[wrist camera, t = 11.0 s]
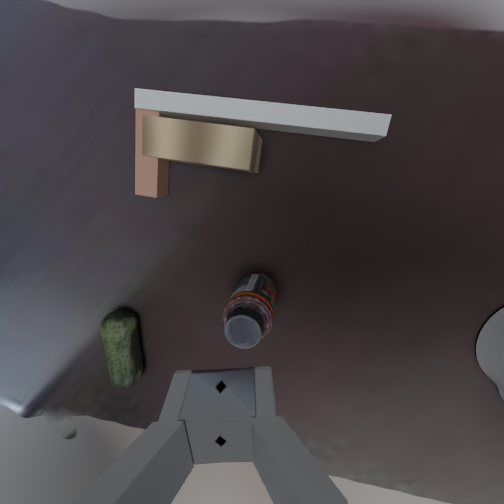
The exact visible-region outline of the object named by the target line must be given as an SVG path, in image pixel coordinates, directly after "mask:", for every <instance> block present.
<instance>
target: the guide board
mask: <svg viewBox="0 0 504 504" xmlns="http://www.w3.org/2000/svg"><path fill="white" fill-rule="evenodd" d="M135 108H136V155H135V194H136V195H142V196H149V197H155V198H159V197H168V179H169V160H165V159H159V158H154V157H149V156H144V155H142V122H143V115H148V116H156V117H164V118H172V119H181V120H189V121H197V122H205V123H213V124H222V125H230V126H239V127H248V128H256V129H265V130H273V131H282V132H291V133H299V134H308V135H317V136H325V137H334V138H342V139H351V140H360V141H368V142H376V141H378V140H379V139H381V138H383V137H385V136H386V134H387V131H388V127H389V123H390V119H391V115H390V114H381V113H371V112H361V111H352V110H342V109H332V108H322V107H313V106H303V105H293V104H284V103H274V102H264V101H254V100H245V99H235V98H225V97H216V96H206V95H196V94H186V93H177V92H167V91H157V90H148V89H138V88H135Z"/></svg>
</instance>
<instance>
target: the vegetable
mask: <svg viewBox="0 0 504 504" xmlns="http://www.w3.org/2000/svg"><path fill="white" fill-rule="evenodd" d="M100 332H101V335H102V339H103V343H104V349H105V355H106V360H107V366H108V371H109V376H110V380H111V382H112V384H113V385H114V386H115V387H117V388H120V389H126V388H129V387H131V386H133V385H134V384H136V383H137V382H138V380H139V379H140V378H141V376H142V374H143V360H142V354H141V348H140V341H139V333H138V319H137V317H136V316H135V315H134V314H133V313H131V312H129V311H126V310H116V311H113V312H111V313H109V314H108V315H107V316H106V317H105V318H104V319H103V320H102V322H101V324H100Z"/></svg>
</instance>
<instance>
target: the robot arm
mask: <svg viewBox="0 0 504 504" xmlns="http://www.w3.org/2000/svg"><path fill="white" fill-rule="evenodd" d="M476 356H477V360H478V363H479V365H480V367H481V369H482V370H483V371H484V373H485V374H486V375H487V376H488V377H489V378H490V379H491V380H493V381H494V382H495V384H496V385H497V387H498V390H499V393H500V396H501V398H502V399H503V400H504V307H503V308H502V309H500V310H499V311H498V312H497V313H495V314H494V315H493V316H492V317H491V318H490V319H489V320H488V321H487V323H486V324H485V325H484V327H483V328H482V330H481V332H480V334H479V336H478V340H477V344H476ZM218 462H253V463H254V465H255V467H256V469H257V471H258V473H259V475H260V477H261V479H262V481H263V483H264V485H265V487H266V489H267V491H268V493H269V495H270V497H271V499H272V501H273V503H274V504H348V501H347V500H346V498H345V497H344V496H343V494H342V493H341V492H340V490H339V489H338V488H337V487H336V485H335V484H334V483H333V481H332V480H331V479H330V478H329V476H328V475H327V474H326V472H325V471H324V470H323V469H322V467H321V466H320V465H319V463H318V462H317V461H316V460H315V458H314V457H313V456H312V454H311V453H310V452H309V451H308V449H307V448H306V447H305V446H304V444H303V443H302V442H301V440H300V439H299V438H298V437H297V435H296V434H295V433H294V431H293V430H292V429H291V428H290V426H289V425H288V424H287V422H286V421H285V420H284V419H283V417H282V416H276V407H275V397H274V388H273V379H272V369H271V367H270V366H266V367H255V368H254V367H247V368H229V369H209V370H177V371H176V372H175V374H174V376H173V378H172V381H171V384H170V387H169V390H168V393H167V396H166V399H165V402H164V405H163V408H162V411H161V414H160V417H159V420H158V422H152V423H151V424H150V425H149V426H148V428H147V429H146V430H145V431H144V432H143V433H142V434H141V435H140V436H139V437H138V438H137V439H136V440H135V441H134V442H133V443H132V444H131V445H130V446H129V447H128V448H127V449H126V450H125V451H124V452H123V453H122V454H121V455H120V456H119V457H118V458H117V459H116V460H115V461H114V462H113V463H112V464H111V465H110V466H109V467H108V468H107V469H106V471H104V473H103V474H102V475H101V476H100V477H99V478H98V479H97V480H96V481H95V482H94V483H93V484H92V485H91V486H90V487H89V488H88V489H87V490H86V491H85V492H84V493H83V494H82V495H81V496H80V497H79V498H78V499H77V500H76V501H75V502H74V503H73V504H171V503H172V501H173V499H174V498H175V496H176V495H177V493H178V491H179V490H180V488H181V486H182V485H183V483H184V482H185V480H186V478H187V477H188V475H189V474H190V472H191V470H192V469H193V467H194V466H193V464H205V463H218Z"/></svg>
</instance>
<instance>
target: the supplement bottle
mask: <svg viewBox="0 0 504 504" xmlns="http://www.w3.org/2000/svg"><path fill="white" fill-rule="evenodd" d="M276 301H277V288H276V285H275V283H274V282H273V280H272V279H271V278H270V277H268V276H267V275H265V274H262V273H251V274H248V275H246V276H245V277H243V278H242V279H241V281H240V282H239V283H238V285H237V287H236V289H235V290H234V292H233V294H232V296H231V297H230V299H229V301H228V302H227V304H226V306H225V309H224V312H223V322H224V326H225V336H226V338H227V340H228V341H229V342H230V343H231V344H232V345H234V346H236V347H238V348H242V349H248V348H252V347H254V346H255V345H257V344H258V343H259V341H260V340H261V339H263V338H264V337H265V336H266V335H267V334H268V333H269V332H270V330H271V328H272V325H273V320H274V314H275V307H276Z"/></svg>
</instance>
